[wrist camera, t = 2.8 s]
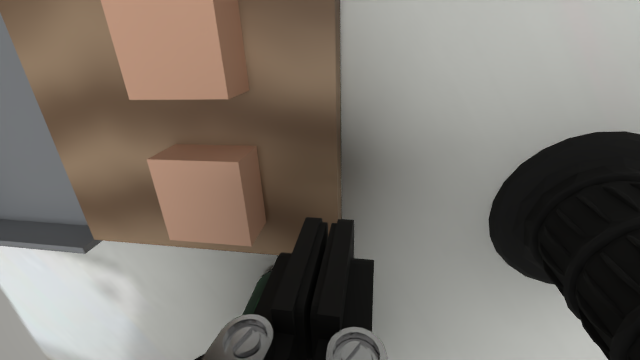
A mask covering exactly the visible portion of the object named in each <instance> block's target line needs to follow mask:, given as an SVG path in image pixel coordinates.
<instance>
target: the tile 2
mask: <svg viewBox="0 0 640 360" xmlns="http://www.w3.org/2000/svg"><path fill="white" fill-rule="evenodd" d="M147 163H148V166H149V169H150V173H151V176H152V180H153V183H154V187H155V190H156V194H157V197H158V201H159V204H160V207H161V211H162V214H163V218H164V221H165V225H166V228H167V232H168V235H169V239H170V240H176V241H189V242H201V243H214V244H226V245H238V246H251V247H252V245H253V243H254V242H255V240H256V238H257V237H258V235H259V233H260V232H261V230H262V228H263V227H264V225H265V223H266V216H265V208H264V201H263V193H262V185H261V177H260V169H259V161H258V154H257V146H241V145H195V144H175V145H173V146H171V147H169V148H167V149H165V150H163V151H161V152H159V153H158V154H156V155H154V156H152V157H150V158H148V159H147Z"/></svg>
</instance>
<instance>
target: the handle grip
mask: <svg viewBox="0 0 640 360" xmlns="http://www.w3.org/2000/svg"><path fill="white" fill-rule="evenodd" d="M489 228H490V237H491V240H492V242H493V244H494V247H495V249H496V251H497V253H498V254H499V255H500V256H501V257H502V258H503V259H504V260H505V262H506V263H507V264H508V265H510V266H511V267H513V268H514V269H516V270H517V271H519V272H520V273H522V274H523V275H524V276H527V277H530V278H533V279H536V280H539V281H542V282H545V283H549V284H555V285H556V286H557V288H558V289H559V291H560V292H561V294H562V295H563V296H564V297H565V300H566V303H567V306H568V308H569V309H570V310H571V311H572V312H573V314H574V315H575V316H576V317H577V318H578V319H580V320H581V322H582V325H583V327H584V329H585V330H586V332H587V333H588V334H589V336H590V337H591V338H592V340H593V341H594V342H595V343H596V344H597V345H598V346H599V347H600V348H601V350H602V351H603V353H604V354H605V356H606V357H607V359H608V360H640V135H639V134H634V133H629V132H597V133H592V134H588V135H583V136H579V137H574V138H570V139H567V140H565V141H562V142H560V143H558V144H555V145H553V146H551V147H549V148H546V149H544V150H542V151H541V152H539V153H538V154H536V155H535V156H533V157H532V158H530V159H529V160H527V161H526V162H524V163H523V164H522V165H520V166H519V168H518V169H517V170H516V171H515V172H514V173H513V174H512V175H511V176H510V177H509V178H508V179H507V180H506V181H505V182H504V184H503V186H502V187H501V189H500V191H499V193H498V194H497V196H496V198H495V199H494V201H493V205H492V209H491V213H490V217H489Z"/></svg>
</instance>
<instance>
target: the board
mask: <svg viewBox="0 0 640 360" xmlns="http://www.w3.org/2000/svg"><path fill="white" fill-rule="evenodd" d="M238 5H239V12H240V20H241V28H242V36H243V44H244V52H245V59H246V67H247V75H248V83H249V91H247V92H245V93H242V94H240V95H237V96H235V97H233V98H230V99H202V100H129V97H128V93H127V90H126V86H125V83H124V80H123V76H122V73H121V69H120V66H119V62H118V59H117V55H116V52H115V48H114V45H113V42H112V38H111V35H110V31H109V28H108V24H107V21H106V17H105V14H104V10H103V7H102V3H101V0H0V13H1V16H2V18H3V20H4V23H5V25H6V28H7V30H8V32H9V35H10V37H11V40H12V42H13V45H14V47H15V49H16V52H17V54H18V57H19V59H20V61H21V64H22V66H23V69H24V71H25V74H26V76H27V78H28V81H29V83H30V86H31V88H32V91H33V93H34V95H35V98H36V100H37V103H38V105H39V107H40V110H41V112H42V115H43V117H44V120H45V122H46V124H47V127H48V129H49V132H50V134H51V137H52V139H53V141H54V144H55V146H56V149H57V151H58V153H59V156H60V158H61V161H62V163H63V166H64V168H65V170H66V173H67V175H68V178H69V180H70V182H71V185H72V187H73V190H74V192H75V195H76V197H77V199H78V202H79V204H80V207H81V209H82V212H83V214H84V216H85V219H86V221H87V224H88V226H89V228H90V231H91V233H92V236H93V238H94V240H105V241H117V242H129V243H140V244H152V245H164V246H176V247H188V248H200V249H212V250H224V251H236V252H247V253H259V254H271V255H279V254H280V253H281V252H285V253H292V252H293V249H294V247H295V244H296V241H297V239H298V236H299V234H300V231H301V228H302V226H303V223H304V221H305V218H306V217H314V218H322V221H323V222H327V223H328V236H329V231H330V227H331V224H332V223H337V221H338V219H342V215H341V82H340V0H238ZM175 144H195V145H241V146H257V154H258V161H259V169H260V177H261V185H262V193H263V201H264V208H265V216H266V223H265V225H264V227H263V228H262V230H261V232H260V233H259V235H258V237H257V238H256V240H255V242H254V243H253V245H252V247H251V246H238V245H226V244H214V243H201V242H189V241H176V240H170V239H169V235H168V232H167V228H166V225H165V221H164V218H163V214H162V211H161V207H160V204H159V201H158V197H157V194H156V190H155V187H154V183H153V180H152V176H151V173H150V169H149V166H148V163H147V159H148V158H150V157H152V156H154V155H156V154H158V153H159V152H161V151H163V150H165V149H167V148H169V147H171V146H173V145H175Z"/></svg>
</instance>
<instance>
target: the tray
mask: <svg viewBox="0 0 640 360" xmlns="http://www.w3.org/2000/svg"><path fill="white" fill-rule="evenodd" d="M101 241H103V240H94V238H93V236H92V233H91V231H90V228H89V226H88V224H87V221H86V219H85V216H84V214H83V212H82V209H81V207H80V204H79V202H78V199H77V197H76V195H75V192H74V190H73V187H72V185H71V182H70V180H69V178H68V175H67V173H66V170H65V168H64V166H63V163H62V161H61V158H60V156H59V153H58V151H57V149H56V146H55V144H54V141H53V139H52V137H51V134H50V132H49V129H48V127H47V124H46V122H45V120H44V117H43V115H42V112H41V110H40V107H39V105H38V103H37V100H36V98H35V95H34V93H33V91H32V88H31V86H30V83H29V81H28V78H27V76H26V74H25V71H24V69H23V66H22V64H21V61H20V59H19V57H18V54H17V52H16V49H15V47H14V45H13V42H12V40H11V37H10V35H9V32H8V30H7V28H6V25H5V23H4V20H3V18H2V16H1V13H0V246H8V247H19V248H29V249H40V250H51V251H61V252H72V253H83V254H85V253H87V252H88V251H89V250H91V249H92V248H93V247H95V246H96V245H97V244H99V243H100V242H101Z"/></svg>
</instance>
